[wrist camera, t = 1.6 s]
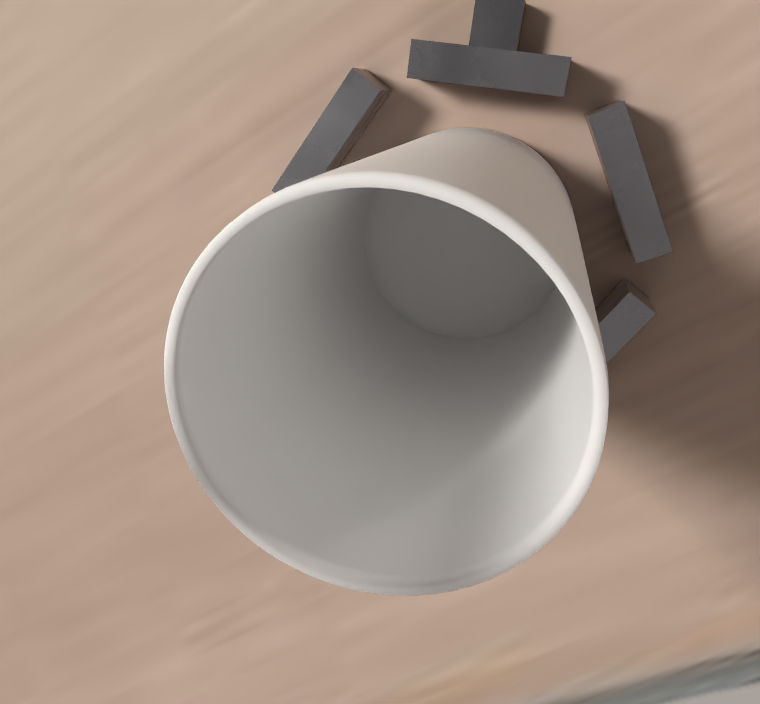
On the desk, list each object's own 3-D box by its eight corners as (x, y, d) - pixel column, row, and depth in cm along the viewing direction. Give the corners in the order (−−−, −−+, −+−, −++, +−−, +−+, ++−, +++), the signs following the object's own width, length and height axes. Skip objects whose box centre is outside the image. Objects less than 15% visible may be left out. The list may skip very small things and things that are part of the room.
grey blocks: (303, -20, 26) (284, -29, 24) (719, 23, 24) (734, 17, 22) (274, 400, 32) (258, 419, 30) (605, 467, 30) (609, 492, 28)
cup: (604, 153, 26) (681, 237, 11) (542, 363, 29) (537, 649, 14) (381, 106, 27) (180, 124, 12) (343, 313, 30) (146, 530, 15)
